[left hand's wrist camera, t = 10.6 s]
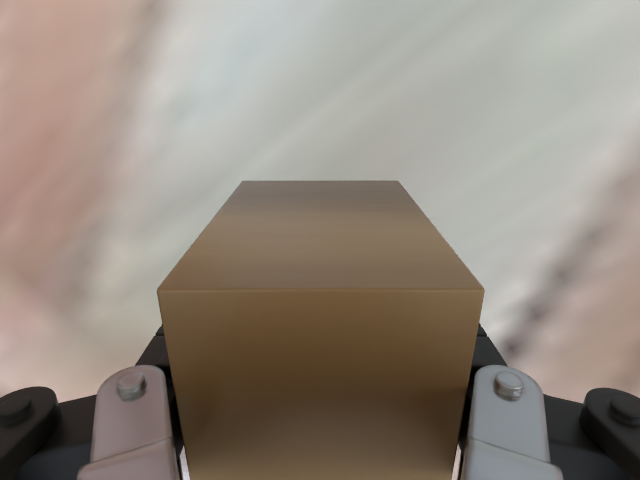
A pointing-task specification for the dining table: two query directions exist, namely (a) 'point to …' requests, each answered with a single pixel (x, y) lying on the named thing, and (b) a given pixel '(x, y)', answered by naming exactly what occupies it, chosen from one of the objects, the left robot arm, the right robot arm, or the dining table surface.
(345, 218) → the bar
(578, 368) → the dining table surface
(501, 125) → the dining table surface
